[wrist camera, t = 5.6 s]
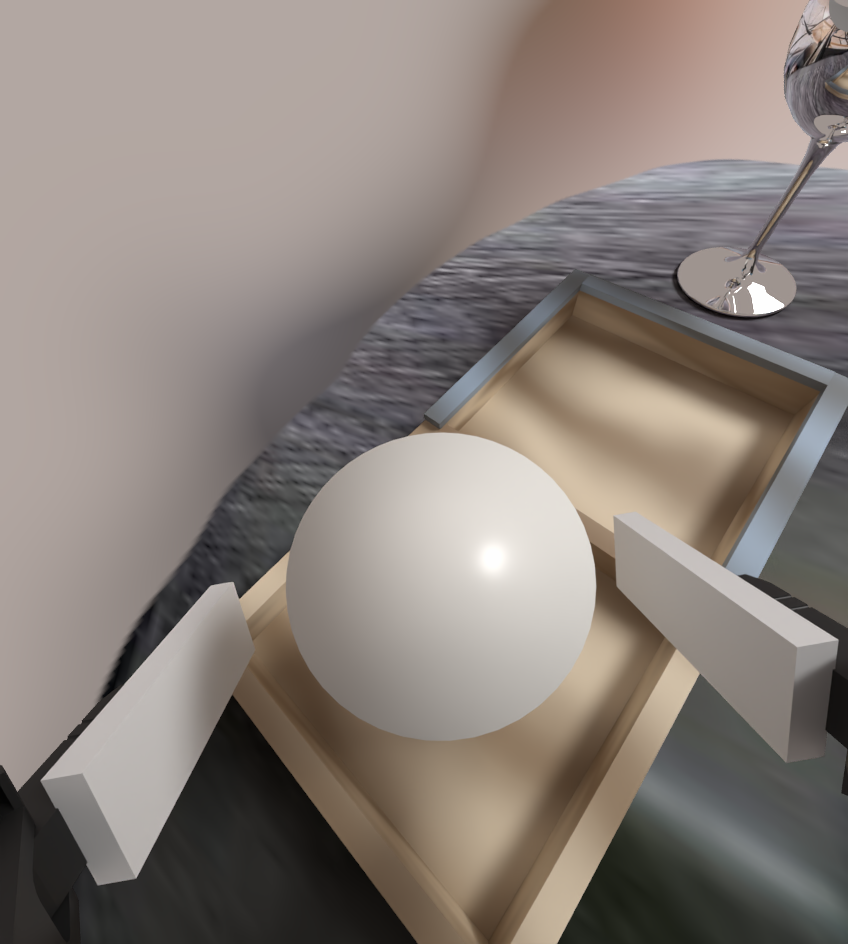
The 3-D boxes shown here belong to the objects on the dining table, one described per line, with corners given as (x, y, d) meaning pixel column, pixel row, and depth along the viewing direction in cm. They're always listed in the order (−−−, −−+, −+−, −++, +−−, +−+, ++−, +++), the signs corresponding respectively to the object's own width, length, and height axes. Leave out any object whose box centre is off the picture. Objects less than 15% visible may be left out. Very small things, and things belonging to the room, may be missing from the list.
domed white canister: (443, 547, 20) (423, 390, 10) (546, 631, 18) (659, 539, 8) (357, 645, 19) (222, 576, 8) (461, 753, 16) (458, 850, 6)
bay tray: (565, 306, 29) (575, 268, 26) (814, 417, 23) (860, 382, 20) (223, 648, 19) (186, 640, 17) (494, 996, 13) (502, 1069, 11)
